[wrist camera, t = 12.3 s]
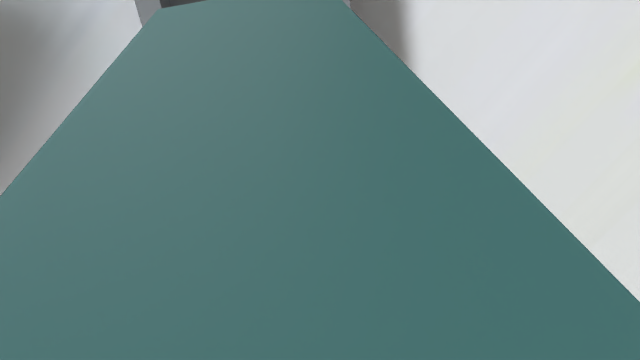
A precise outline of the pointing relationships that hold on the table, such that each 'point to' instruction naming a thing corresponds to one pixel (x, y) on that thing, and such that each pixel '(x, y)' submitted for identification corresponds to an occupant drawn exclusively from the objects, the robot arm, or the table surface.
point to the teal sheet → (286, 212)
